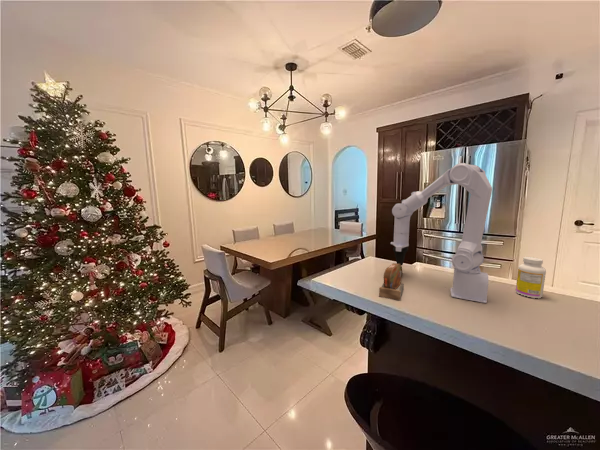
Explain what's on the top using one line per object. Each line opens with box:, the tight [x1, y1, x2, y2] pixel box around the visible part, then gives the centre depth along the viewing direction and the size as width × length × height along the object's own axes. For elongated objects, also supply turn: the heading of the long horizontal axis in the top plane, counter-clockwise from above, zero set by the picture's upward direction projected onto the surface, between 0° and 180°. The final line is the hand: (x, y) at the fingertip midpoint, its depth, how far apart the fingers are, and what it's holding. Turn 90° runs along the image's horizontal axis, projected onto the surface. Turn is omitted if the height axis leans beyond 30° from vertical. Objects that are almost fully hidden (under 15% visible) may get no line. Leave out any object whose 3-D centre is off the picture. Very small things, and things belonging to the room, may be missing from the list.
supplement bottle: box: [515, 256, 547, 299], centre depth 80 cm, size 7×7×13 cm
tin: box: [383, 262, 403, 290], centre depth 87 cm, size 15×3×8 cm, turn 142°
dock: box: [378, 282, 405, 301], centre depth 83 cm, size 7×10×3 cm, turn 150°
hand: (399, 264), depth 99 cm, fingers closed
